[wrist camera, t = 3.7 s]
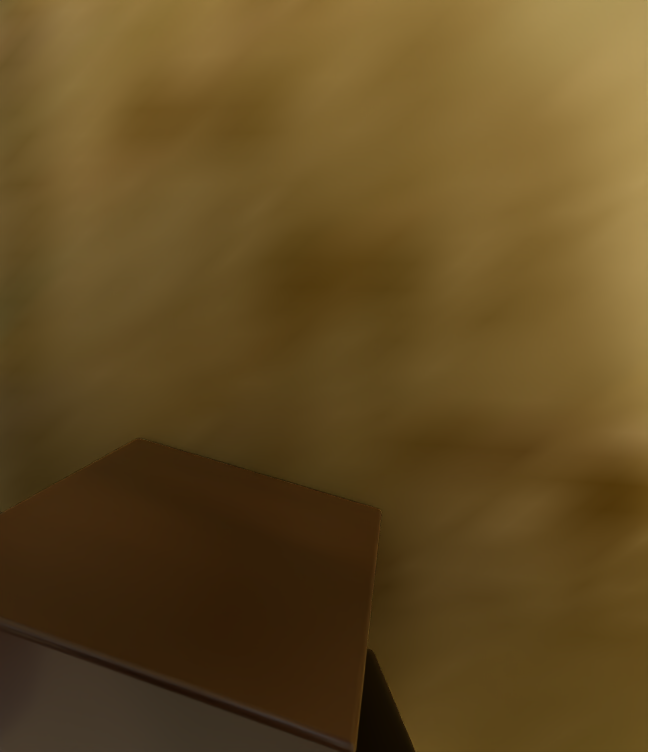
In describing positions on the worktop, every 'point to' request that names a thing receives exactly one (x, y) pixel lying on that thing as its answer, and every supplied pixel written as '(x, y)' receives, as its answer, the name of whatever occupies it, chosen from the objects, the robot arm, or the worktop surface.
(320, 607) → the brown cube
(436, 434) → the worktop surface
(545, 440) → the worktop surface
